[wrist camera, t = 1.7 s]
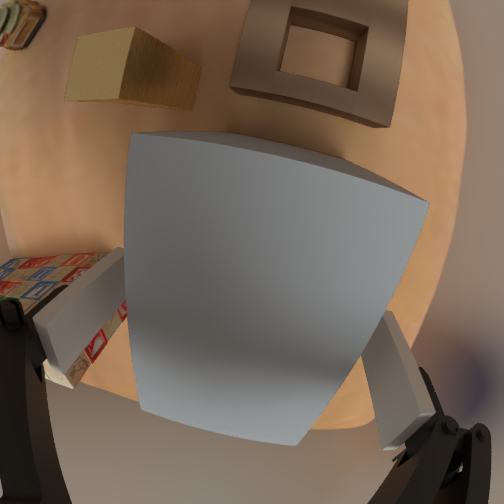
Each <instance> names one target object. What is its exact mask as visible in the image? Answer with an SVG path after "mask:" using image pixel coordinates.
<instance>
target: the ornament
mask: <svg viewBox="0 0 504 504" xmlns="http://www.w3.org/2000/svg"><path fill="white" fill-rule="evenodd" d="M44 11H45V9H44V8H43V7H42V6H39V5H37V4H36V3H35V2H33V1H31V0H11V1H9V2H7V3H5V4H3V5H2V6H0V47H4V48H6V49H9V50H13V51H15V50H19V49H23V48H24V47H26V46H27V45H28V44H29V42H30V40H31V39H32V37H33V35H34V34H35V32H36V31H37V29H38V28H39V26H40V24H41V23H42V21H43V20H44V15H43V13H44Z"/></svg>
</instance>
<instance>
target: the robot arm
mask: <svg viewBox="0 0 504 504" xmlns="http://www.w3.org/2000/svg"><path fill="white" fill-rule="evenodd" d="M125 300H126V293H125V272H124V249H123V248H120V247H117V248H116V249H114V250H113V251H112V252H110V253H109V254H108V255H106V256H105V257H104V258H102V259H101V260H100V261H99V262H97V263H96V264H95V265H94V266H92V267H91V268H90V269H88V270H87V271H86V272H85V273H83V274H82V275H81V276H80V277H79V278H77V279H76V280H75V281H74V282H72V283H71V284H70V285H66V284H65V285H62V286H60V287H58V288H56V289H54V290H53V291H52V292H51V293H50V294H49V296H48V295H47V296H46V297H45V298H44V299H43V300H41V301H40V302H39V303H38V304H37V305H36V306H35V307H33V308H32V309H31V310H30V311H29V312H28V313H27V314H24V310H23V307H22V304H21V302H20V301H19V300H17V299H15V298H8V299H4V300H3V301H1V302H0V479H1V484H2V489H3V496H2V497H1V498H0V504H72V502H71V500H70V496H69V494H68V491H67V488H66V484H65V481H64V478H63V475H62V471H61V468H60V464H59V460H58V456H57V452H56V448H55V443H54V438H53V433H52V428H51V422H50V416H49V409H48V402H47V393H46V383H45V369H44V365H43V362H44V361H45V360H46V359H47V360H48V363H49V365H50V367H51V368H52V369H54V370H55V371H57V372H59V373H61V374H62V375H64V374H65V373H66V372H67V370H68V369H69V368H70V366H71V365H72V364H73V363H74V361H75V360H76V359H77V357H78V356H79V355H80V354H81V352H82V351H83V350H84V349H85V347H86V346H87V345H88V344H89V343H90V341H91V340H92V339H93V338H94V336H95V335H96V334H97V333H98V332H99V330H100V329H101V328H102V327H103V326H104V324H105V323H106V322H107V321H108V320H109V319H110V317H111V316H112V315H113V314H114V313H115V312H116V310H117V309H118V308H119V307H120V306H121V305H122V303H123V302H124V301H125ZM361 357H362V361H363V365H364V369H365V373H366V377H367V381H368V385H369V389H370V394H371V398H372V403H373V407H374V412H375V417H376V422H377V427H378V432H379V437H380V443H381V448H382V450H393V449H397V448H398V447H400V446H401V445H402V444H403V443H404V442H405V445H406V449H405V450H403V451H402V452H401V453H400V454H398V455H397V456H396V457H395V458H394V459H393V460H392V461H393V462H394V461H395V460H396V459H397V461H396V463H395V464H394V466H393V468H392V470H391V471H390V472H389V474H388V476H387V477H386V478H385V480H384V482H383V483H382V485H381V486H380V487H379V489H378V490H377V491H376V493H375V494H374V496H373V497H372V498H371V500H370V501H369V502H368V504H488V499H489V490H490V478H491V434H490V432H489V429H488V428H487V427H486V426H485V425H483V424H481V423H477V424H475V425H474V426H473V427H472V428H471V429H470V430H467V429H462V428H459V425H458V423H457V422H456V420H454V419H453V418H452V417H450V416H445V415H444V412H443V410H442V407H441V405H440V402H439V400H438V397H437V395H436V392H434V391H435V390H434V387H433V385H432V383H431V380H430V378H429V376H428V374H427V373H426V372H425V371H424V369H423V368H422V367H418V366H417V364H416V361H415V359H414V357H413V355H412V352H411V350H410V348H409V346H408V344H407V341H406V339H405V337H404V335H403V333H402V331H401V329H400V327H399V325H398V322H397V320H396V318H395V316H394V314H393V312H392V311H387V310H385V312H384V314H383V316H382V318H381V320H380V321H379V323H378V325H377V327H376V329H375V331H374V332H373V334H372V336H371V338H370V340H369V341H368V343H367V345H366V346H365V348H364V350H363V352H362V353H361ZM462 465H463V468H462V471H461V472H459V468H460V467H461V466H462Z"/></svg>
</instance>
